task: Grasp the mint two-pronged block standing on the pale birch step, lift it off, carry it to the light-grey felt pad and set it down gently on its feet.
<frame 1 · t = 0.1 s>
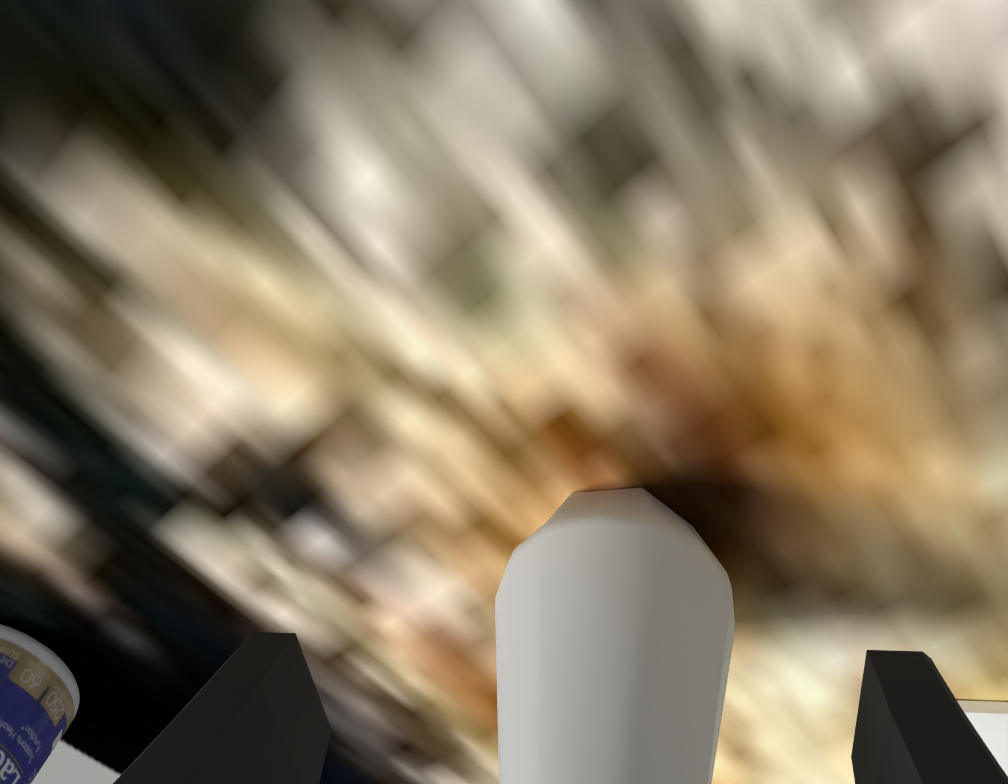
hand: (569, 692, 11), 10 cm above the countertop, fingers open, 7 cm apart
pill bottle: (12, 663, 31), on the countertop
salt shaker: (617, 538, 23), on the countertop
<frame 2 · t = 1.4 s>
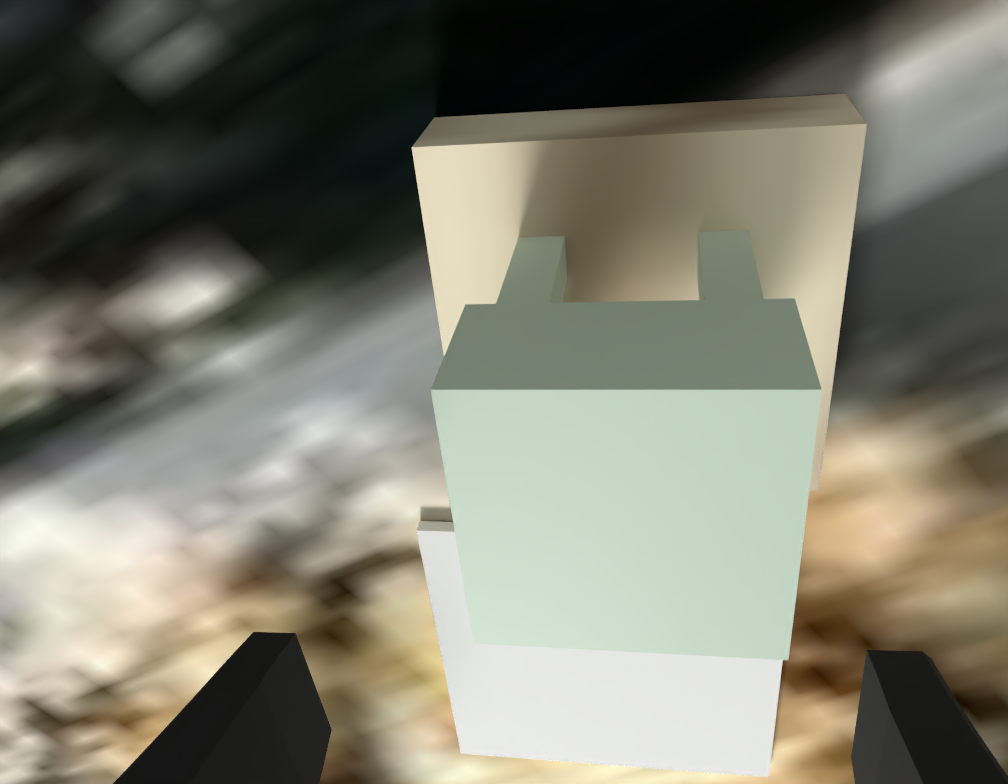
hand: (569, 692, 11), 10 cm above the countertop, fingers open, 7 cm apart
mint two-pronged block: (632, 333, 17), point 2 cm above the countertop, touching step
step: (634, 289, 19), on the countertop
pad: (605, 651, 26), on the countertop
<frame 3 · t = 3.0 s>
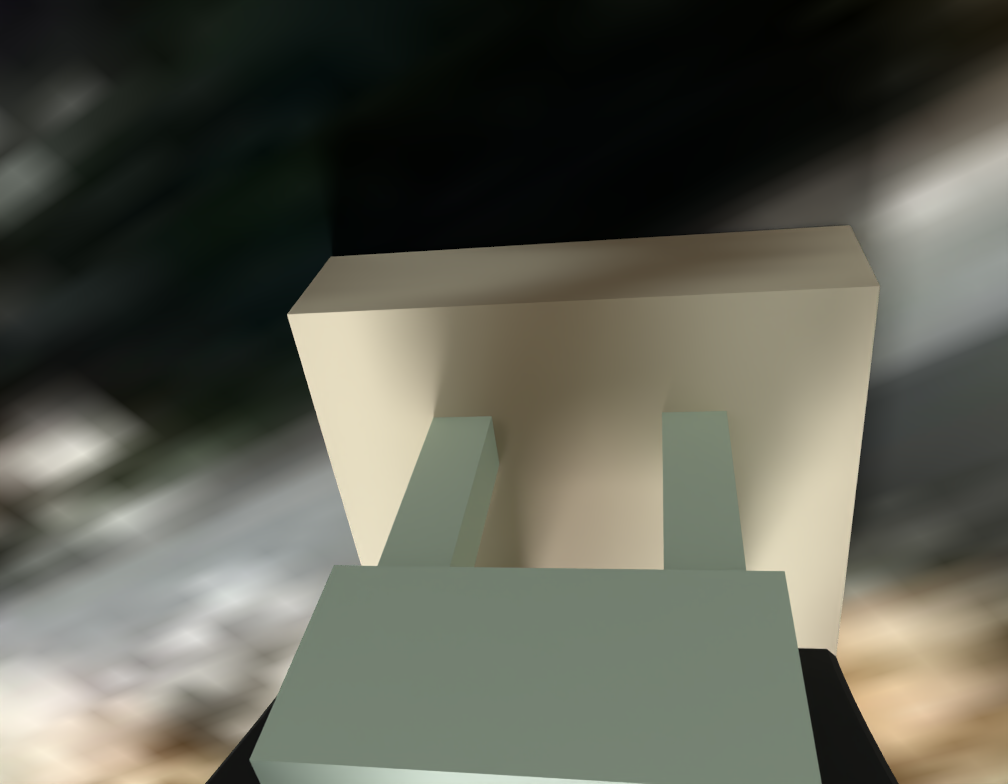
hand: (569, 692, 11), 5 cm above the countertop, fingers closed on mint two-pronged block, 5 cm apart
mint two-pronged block: (586, 525, 14), point 2 cm above the countertop, touching gripper, step
step: (593, 449, 15), on the countertop
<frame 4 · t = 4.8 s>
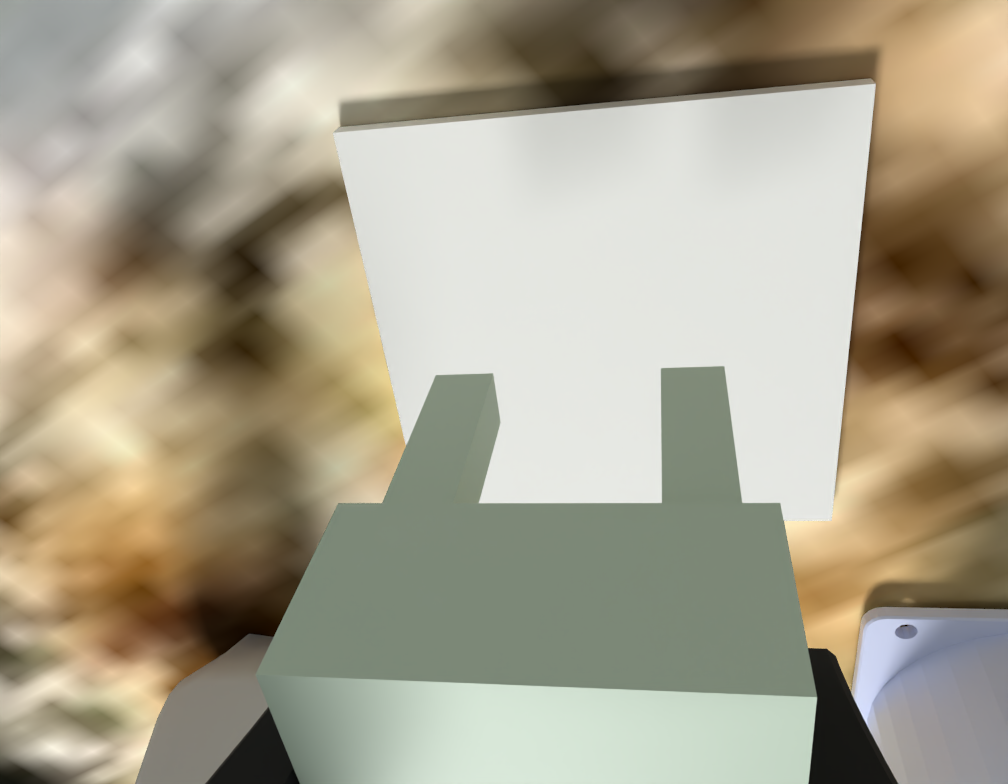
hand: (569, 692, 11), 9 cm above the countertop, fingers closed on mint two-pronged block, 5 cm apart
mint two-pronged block: (586, 484, 14), point 6 cm above the countertop, touching gripper
salt shaker: (286, 671, 27), on the countertop
pad: (606, 335, 19), on the countertop
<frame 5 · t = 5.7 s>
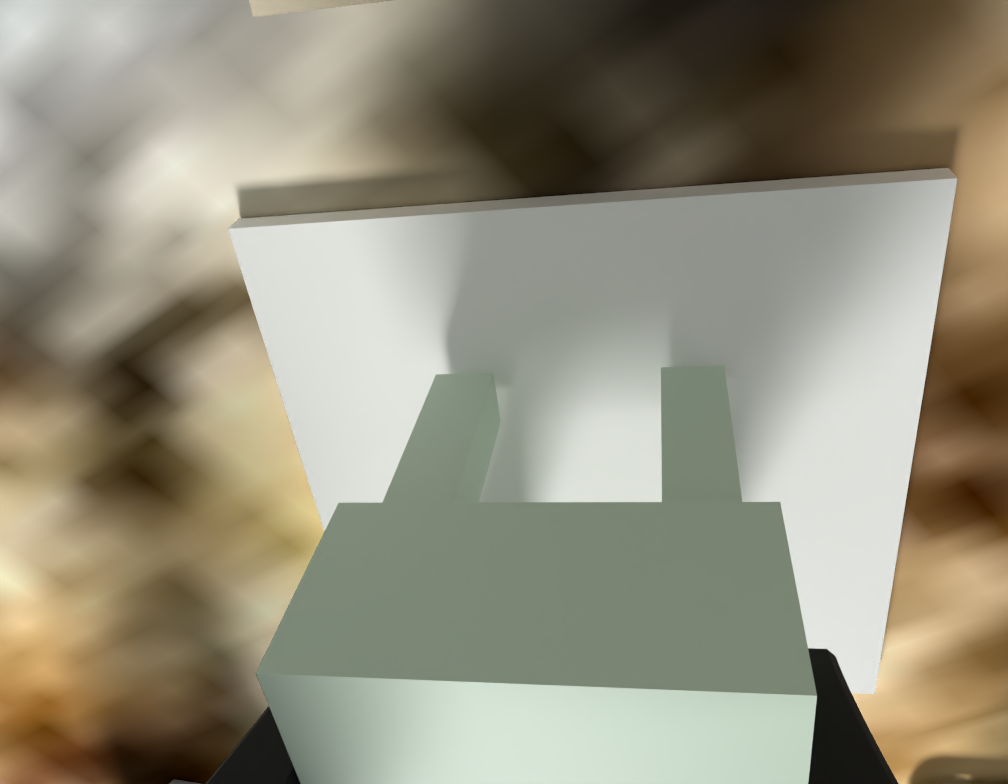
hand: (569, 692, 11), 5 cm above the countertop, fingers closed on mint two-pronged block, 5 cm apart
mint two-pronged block: (586, 484, 14), point 1 cm above the countertop, touching gripper
pad: (591, 474, 15), on the countertop
when the fingers open (4 cm above the countertop, at t = 6.5 s): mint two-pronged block stays where it is, resting on pad.
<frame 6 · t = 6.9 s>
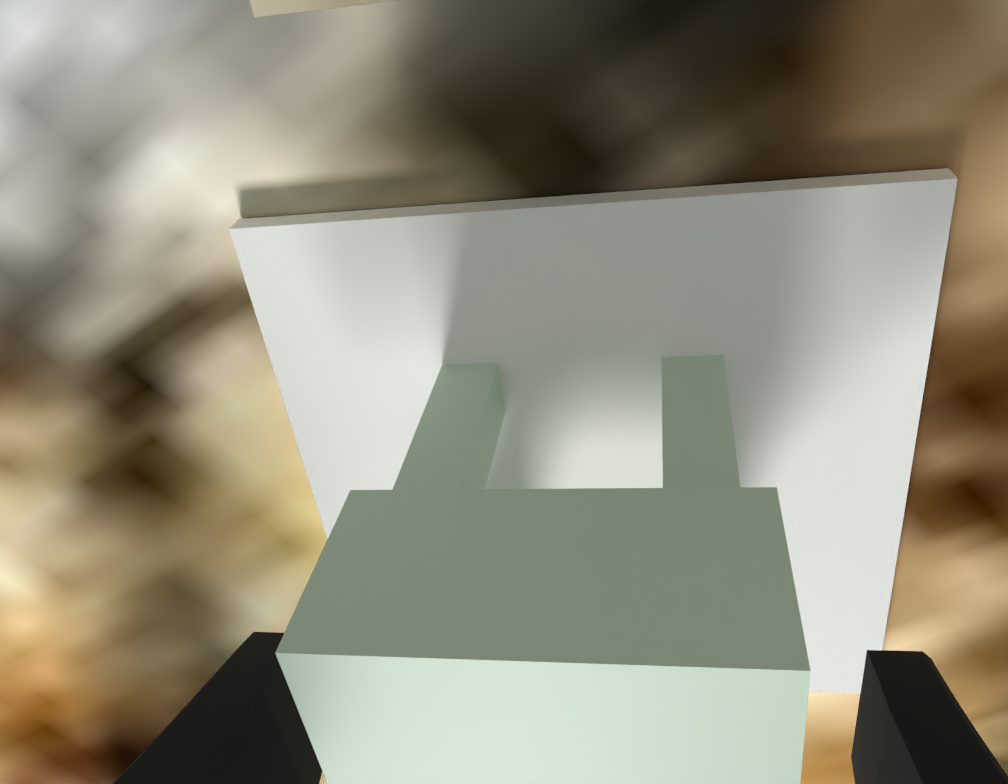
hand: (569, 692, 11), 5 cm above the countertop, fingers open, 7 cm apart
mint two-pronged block: (588, 471, 14), resting on pad
pad: (591, 474, 15), on the countertop
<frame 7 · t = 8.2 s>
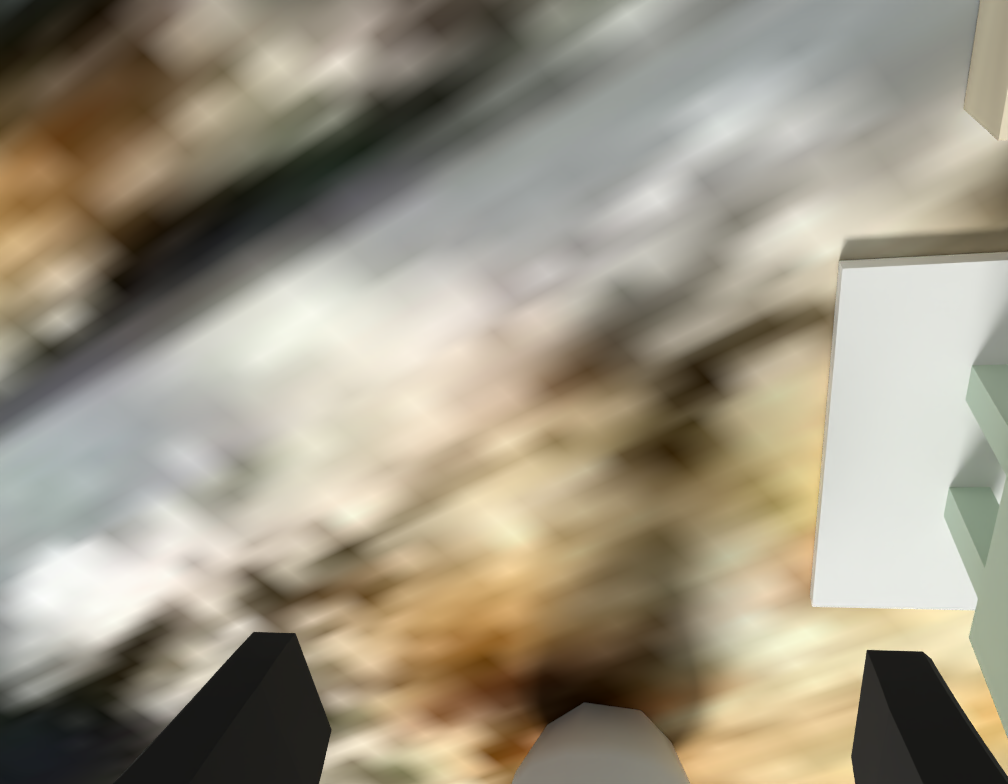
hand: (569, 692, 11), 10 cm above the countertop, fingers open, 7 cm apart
salt shaker: (607, 736, 28), on the countertop
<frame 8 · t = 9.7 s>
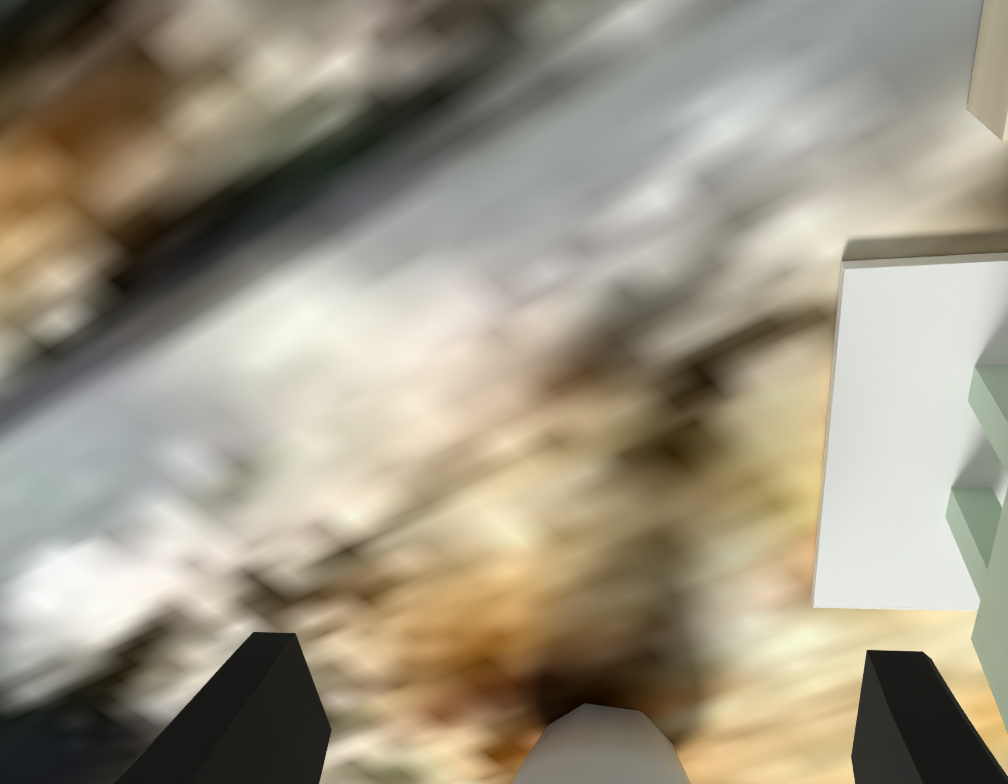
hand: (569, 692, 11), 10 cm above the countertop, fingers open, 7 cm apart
salt shaker: (607, 737, 28), on the countertop
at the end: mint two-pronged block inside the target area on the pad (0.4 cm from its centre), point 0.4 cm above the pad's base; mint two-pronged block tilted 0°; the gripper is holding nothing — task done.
